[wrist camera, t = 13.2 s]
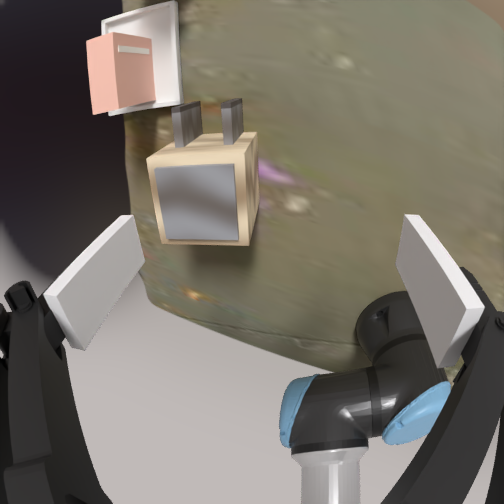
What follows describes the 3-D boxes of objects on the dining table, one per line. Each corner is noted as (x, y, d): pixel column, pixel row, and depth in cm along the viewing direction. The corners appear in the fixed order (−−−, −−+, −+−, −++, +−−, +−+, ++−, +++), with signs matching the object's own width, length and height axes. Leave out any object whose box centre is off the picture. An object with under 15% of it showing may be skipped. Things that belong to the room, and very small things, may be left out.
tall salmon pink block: (156, 99, 35) (119, 109, 27) (133, 103, 36) (92, 114, 27) (151, 38, 31) (113, 31, 22) (128, 44, 31) (86, 41, 23)
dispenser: (259, 201, 43) (248, 248, 32) (191, 202, 44) (159, 246, 33) (255, 97, 35) (240, 105, 24) (180, 103, 36) (137, 115, 25)
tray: (183, 103, 36) (180, 104, 35) (114, 114, 37) (108, 116, 36) (178, 2, 28) (174, 0, 27) (107, 21, 29) (101, 20, 28)
